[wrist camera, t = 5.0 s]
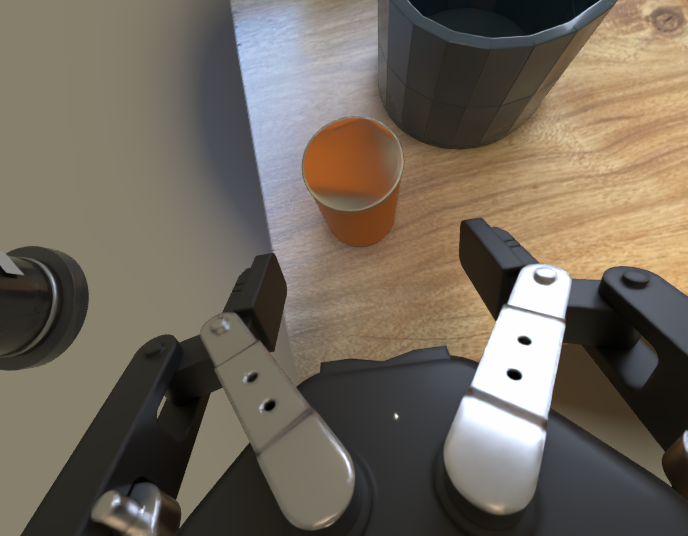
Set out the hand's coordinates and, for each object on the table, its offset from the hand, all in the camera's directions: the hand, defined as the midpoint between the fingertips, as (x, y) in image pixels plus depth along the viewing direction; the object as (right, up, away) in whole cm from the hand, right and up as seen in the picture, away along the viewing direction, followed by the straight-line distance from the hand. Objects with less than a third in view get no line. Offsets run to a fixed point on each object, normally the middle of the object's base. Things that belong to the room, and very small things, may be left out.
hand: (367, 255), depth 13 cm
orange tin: (0, +4, +11) cm, 11 cm away
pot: (+9, +16, +12) cm, 21 cm away
